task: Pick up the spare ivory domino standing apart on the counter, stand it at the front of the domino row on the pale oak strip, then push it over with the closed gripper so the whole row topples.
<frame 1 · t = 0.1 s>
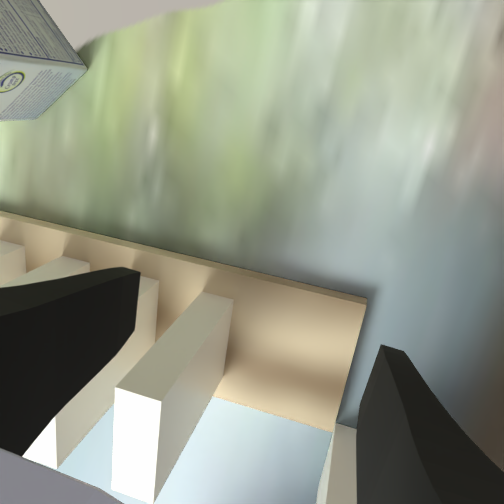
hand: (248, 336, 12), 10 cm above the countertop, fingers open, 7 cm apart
domino 3: (142, 316, 25), point 1 cm above the countertop, touching oak strip
domino 4: (76, 298, 25), point 1 cm above the countertop, touching oak strip
domino 2: (212, 335, 24), point 1 cm above the countertop, touching oak strip
domino 5: (14, 281, 26), point 1 cm above the countertop, touching oak strip
oak strip: (145, 309, 25), on the countertop
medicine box: (21, 30, 22), on the countertop
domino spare: (341, 460, 25), on the countertop
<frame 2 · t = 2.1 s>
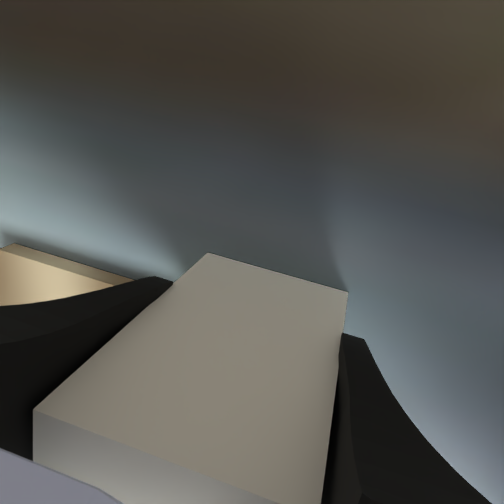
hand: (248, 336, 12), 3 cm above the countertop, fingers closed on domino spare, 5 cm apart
oak strip: (88, 492, 21), on the countertop
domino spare: (270, 294, 15), on the countertop, touching gripper
when the fingers open (4 cm above the countertop, at t = 5.0 s): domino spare stays where it is, resting on oak strip.
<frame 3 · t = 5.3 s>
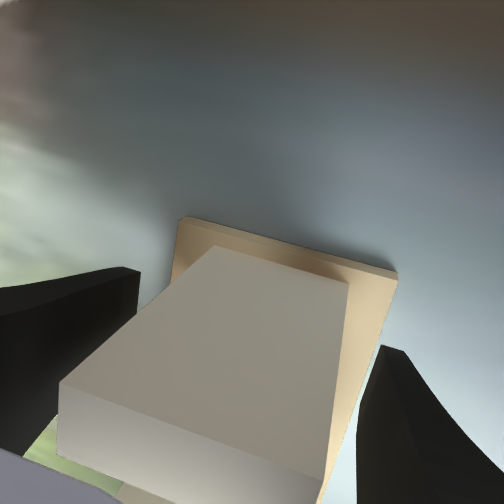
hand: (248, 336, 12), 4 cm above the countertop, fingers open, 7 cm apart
domino 2: (244, 415, 18), point 1 cm above the countertop, touching oak strip
oak strip: (232, 478, 20), on the countertop
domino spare: (274, 286, 16), point 1 cm above the countertop, touching oak strip
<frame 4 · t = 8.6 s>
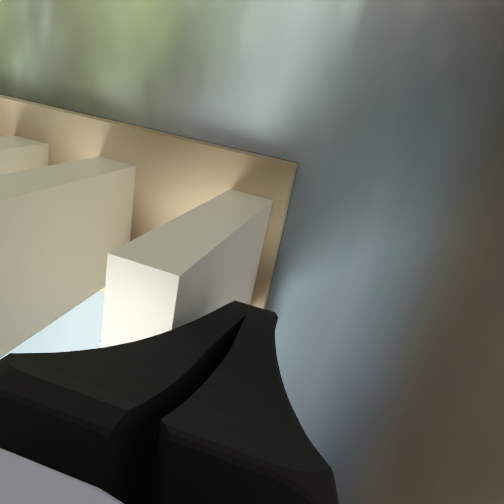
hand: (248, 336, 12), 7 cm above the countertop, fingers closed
domino 3: (31, 193, 20), point 1 cm above the countertop, touching oak strip
domino 2: (113, 216, 19), point 1 cm above the countertop, touching oak strip
oak strip: (39, 189, 21), on the countertop
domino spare: (240, 251, 18), point 1 cm above the countertop, touching gripper, oak strip
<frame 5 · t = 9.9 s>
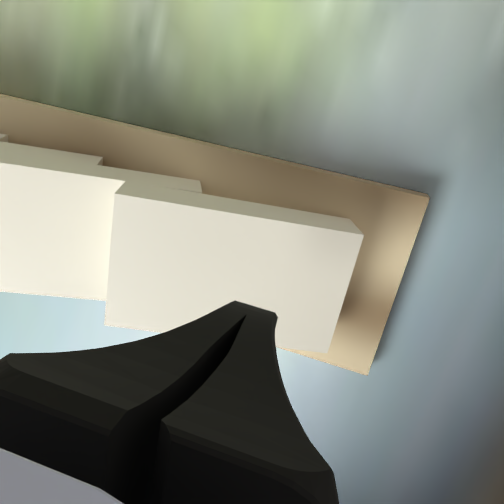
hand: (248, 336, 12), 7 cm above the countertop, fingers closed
domino 3: (96, 218, 19), point 2 cm above the countertop, tilted 65°, touching domino 2, domino 4, oak strip
domino 2: (192, 244, 18), point 2 cm above the countertop, tilted 66°, touching domino 3, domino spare, oak strip
oak strip: (134, 214, 20), on the countertop
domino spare: (338, 286, 17), point 2 cm above the countertop, tilted 71°, touching domino 2, oak strip
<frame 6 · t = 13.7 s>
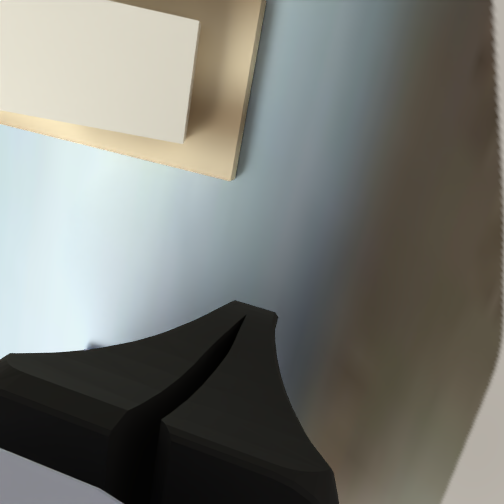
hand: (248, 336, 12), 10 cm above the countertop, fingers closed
oak strip: (31, 50, 22), on the countertop
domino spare: (191, 85, 19), point 2 cm above the countertop, tilted 71°, touching domino 2, oak strip
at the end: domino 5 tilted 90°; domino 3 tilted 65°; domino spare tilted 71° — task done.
